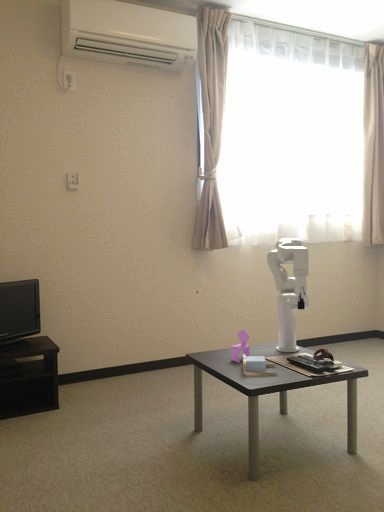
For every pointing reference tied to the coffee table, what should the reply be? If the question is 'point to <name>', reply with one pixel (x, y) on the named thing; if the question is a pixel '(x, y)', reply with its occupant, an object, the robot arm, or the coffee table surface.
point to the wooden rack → (258, 372)
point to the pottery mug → (323, 355)
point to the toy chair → (240, 346)
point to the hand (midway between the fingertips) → (301, 309)
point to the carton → (255, 364)
